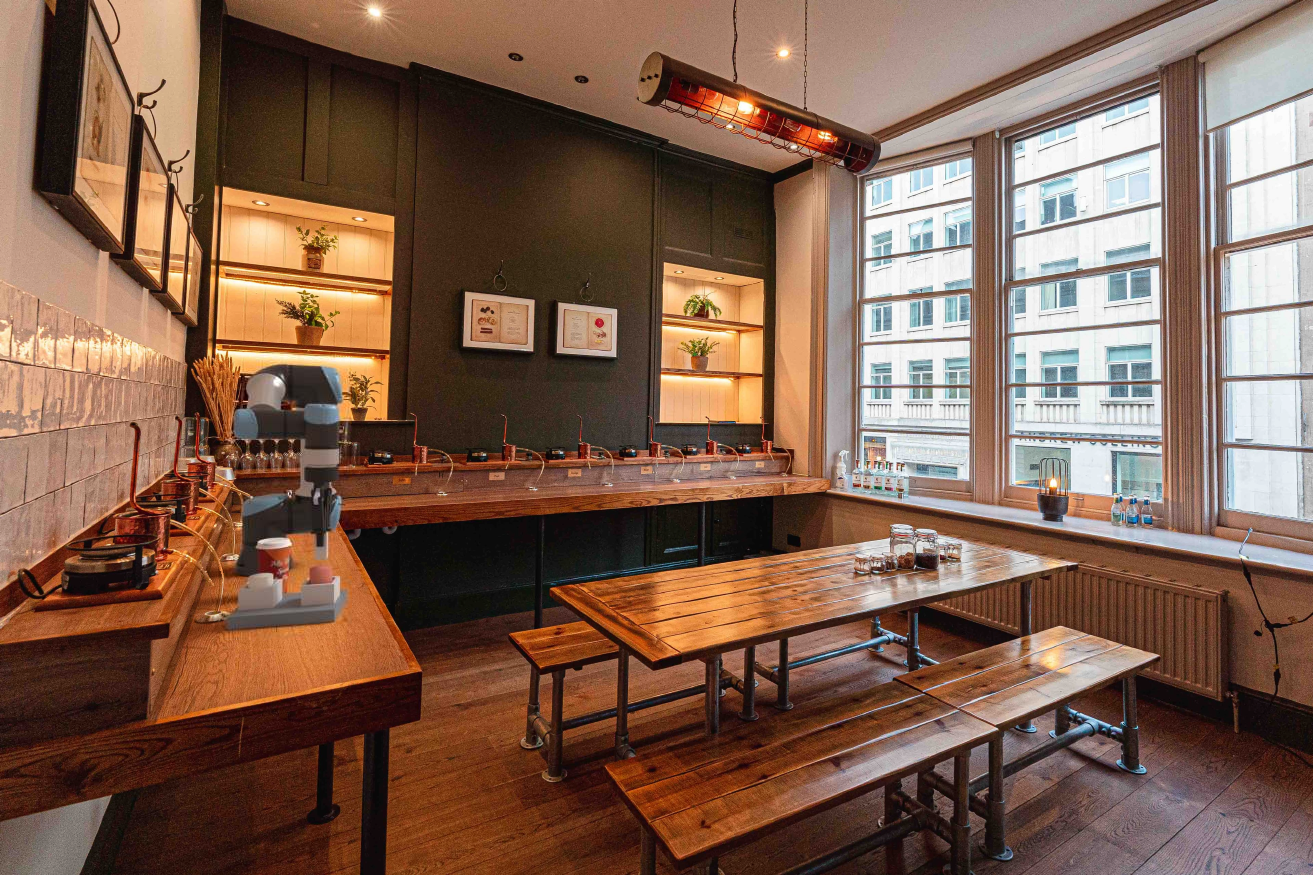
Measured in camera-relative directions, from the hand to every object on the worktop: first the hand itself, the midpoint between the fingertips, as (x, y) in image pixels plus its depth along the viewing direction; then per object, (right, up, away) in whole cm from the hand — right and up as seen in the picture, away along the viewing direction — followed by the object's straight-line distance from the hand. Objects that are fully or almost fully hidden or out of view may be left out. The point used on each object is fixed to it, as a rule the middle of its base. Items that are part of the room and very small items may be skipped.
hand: (321, 558), depth 145 cm
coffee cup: (-20, -13, +12) cm, 27 cm away
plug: (-12, -10, -4) cm, 17 cm away
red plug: (0, -9, 0) cm, 9 cm away
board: (-6, -14, -2) cm, 15 cm away
